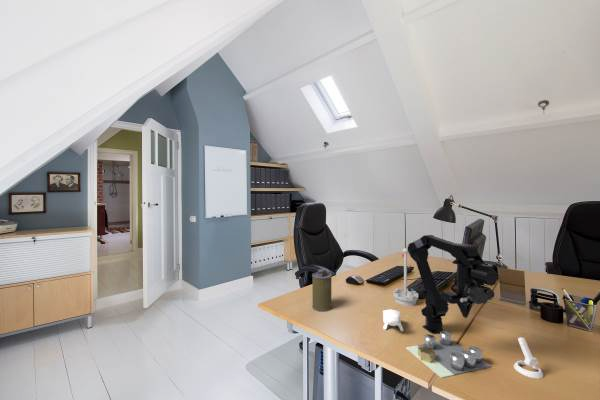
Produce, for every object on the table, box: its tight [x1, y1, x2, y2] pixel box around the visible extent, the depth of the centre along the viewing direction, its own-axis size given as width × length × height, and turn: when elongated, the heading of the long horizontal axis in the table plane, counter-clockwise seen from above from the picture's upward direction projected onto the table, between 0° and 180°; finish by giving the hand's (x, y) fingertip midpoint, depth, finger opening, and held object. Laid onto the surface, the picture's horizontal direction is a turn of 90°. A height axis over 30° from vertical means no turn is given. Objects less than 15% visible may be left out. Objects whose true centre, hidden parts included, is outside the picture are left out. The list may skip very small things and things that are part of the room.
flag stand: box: [392, 247, 419, 307], centre depth 151 cm, size 13×13×30 cm
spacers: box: [423, 330, 483, 371], centre depth 101 cm, size 18×14×4 cm
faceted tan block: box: [418, 346, 435, 363], centre depth 99 cm, size 5×6×3 cm
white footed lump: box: [382, 308, 404, 332], centre depth 122 cm, size 9×8×15 cm
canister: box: [311, 268, 333, 312], centre depth 144 cm, size 11×10×20 cm
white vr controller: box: [513, 336, 544, 379], centre depth 94 cm, size 8×12×7 cm
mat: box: [405, 339, 492, 379], centre depth 100 cm, size 18×21×1 cm
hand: (465, 317), depth 106 cm, fingers closed
